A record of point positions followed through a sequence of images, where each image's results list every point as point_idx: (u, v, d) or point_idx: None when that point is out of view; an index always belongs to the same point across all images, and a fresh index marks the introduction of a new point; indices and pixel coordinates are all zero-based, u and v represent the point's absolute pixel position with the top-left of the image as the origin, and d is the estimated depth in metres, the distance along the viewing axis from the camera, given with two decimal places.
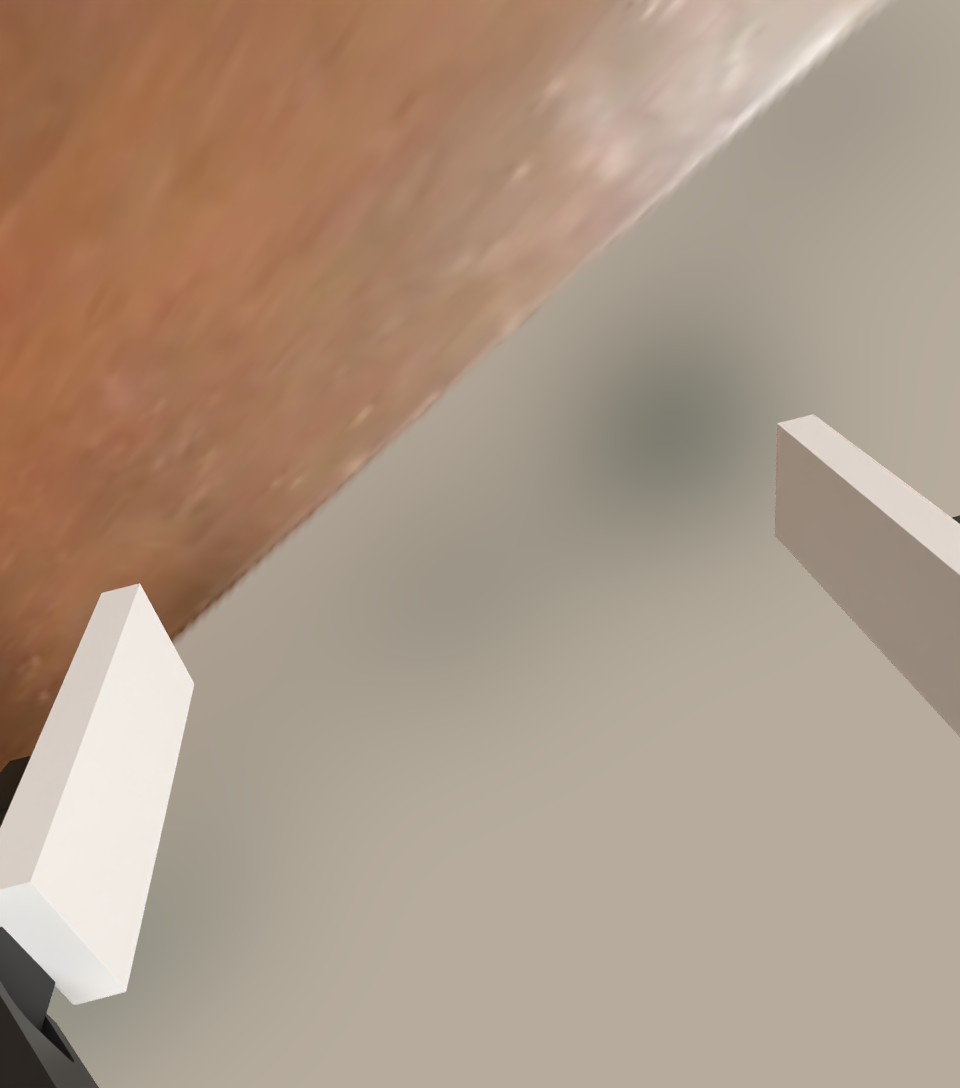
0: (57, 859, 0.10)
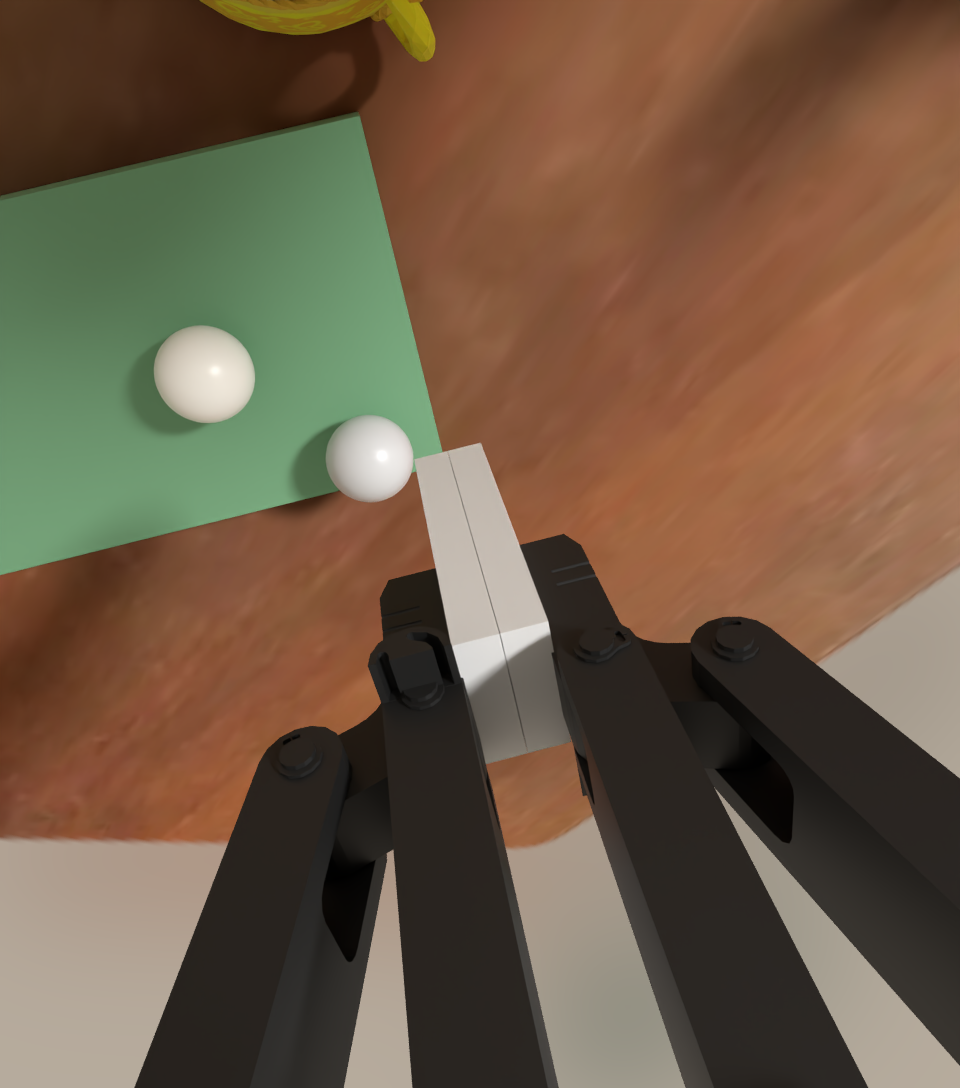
0: None
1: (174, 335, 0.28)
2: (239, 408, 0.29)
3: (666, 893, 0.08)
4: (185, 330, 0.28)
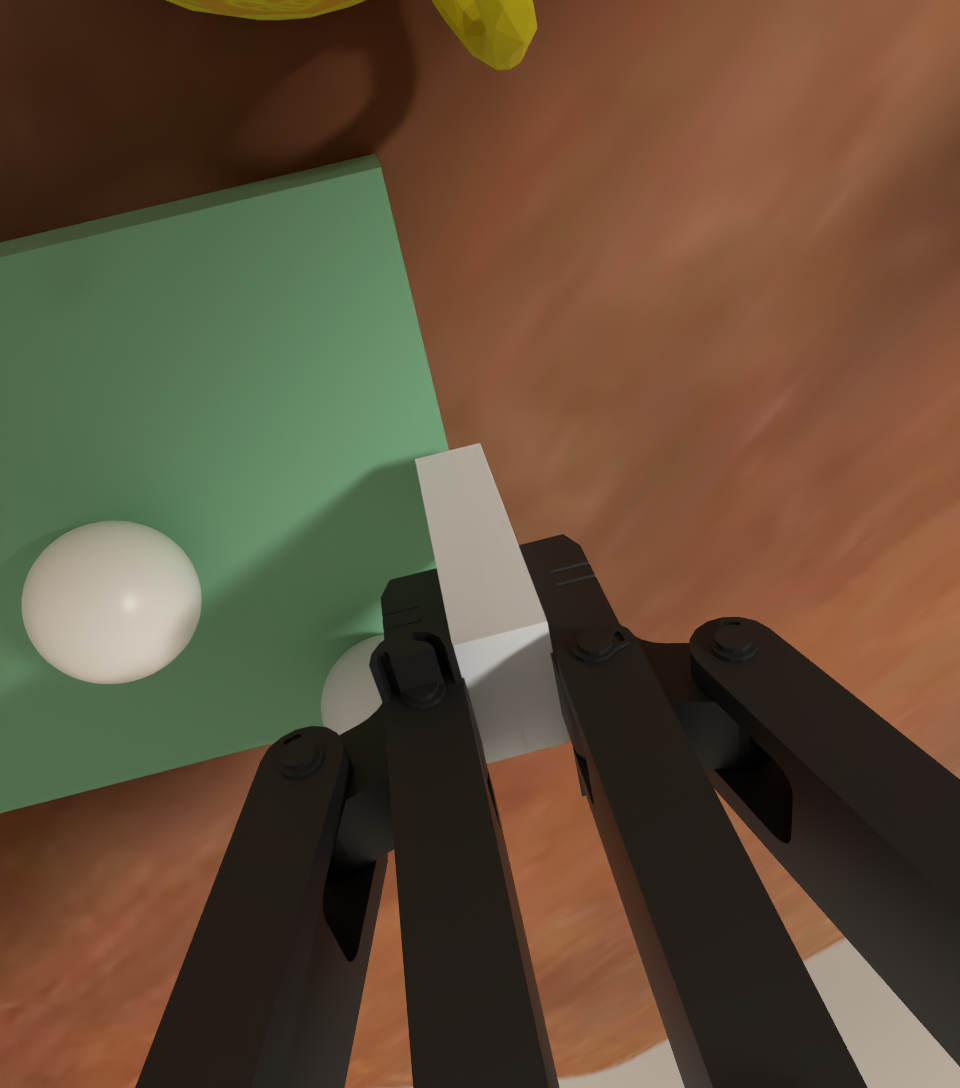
0: None
1: (54, 548, 0.16)
2: (173, 658, 0.17)
3: (665, 893, 0.08)
4: (74, 539, 0.16)
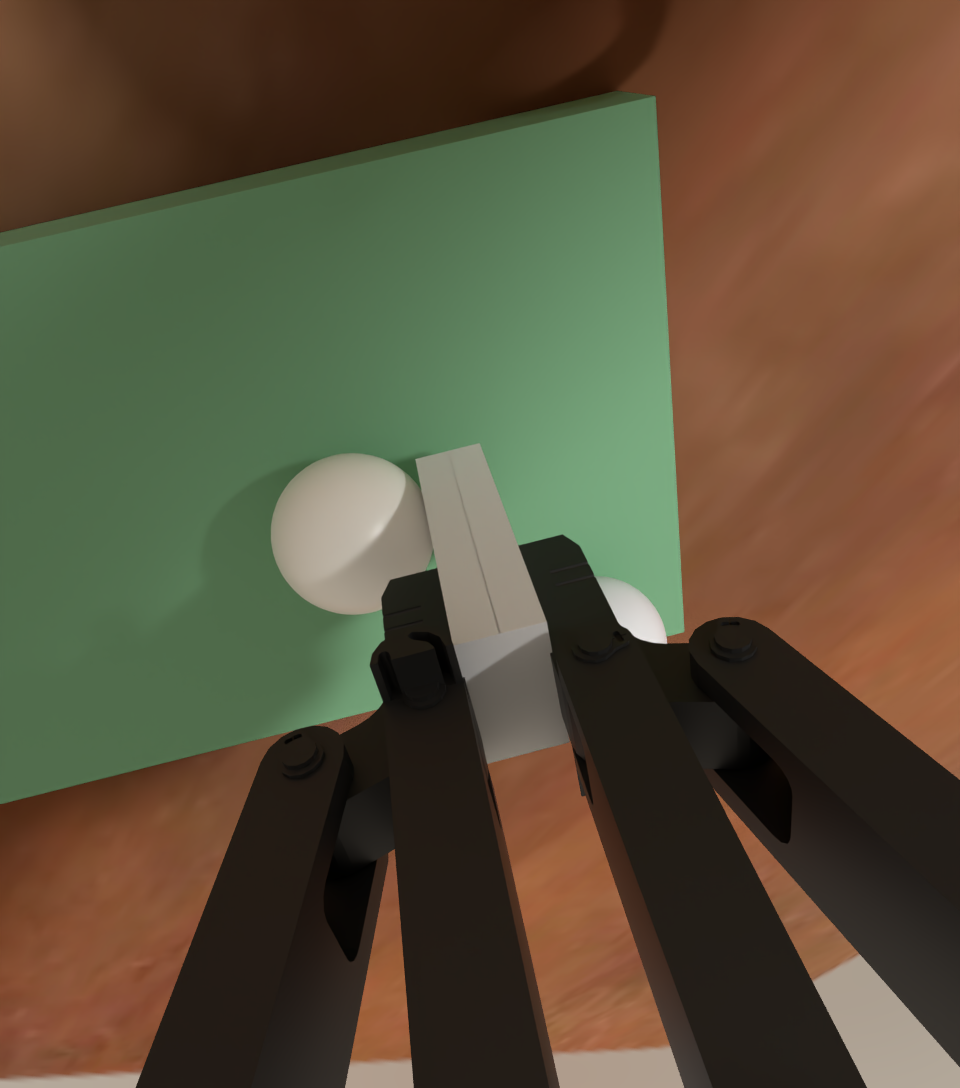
0: None
1: (311, 476, 0.16)
2: None
3: (664, 893, 0.08)
4: (329, 467, 0.16)
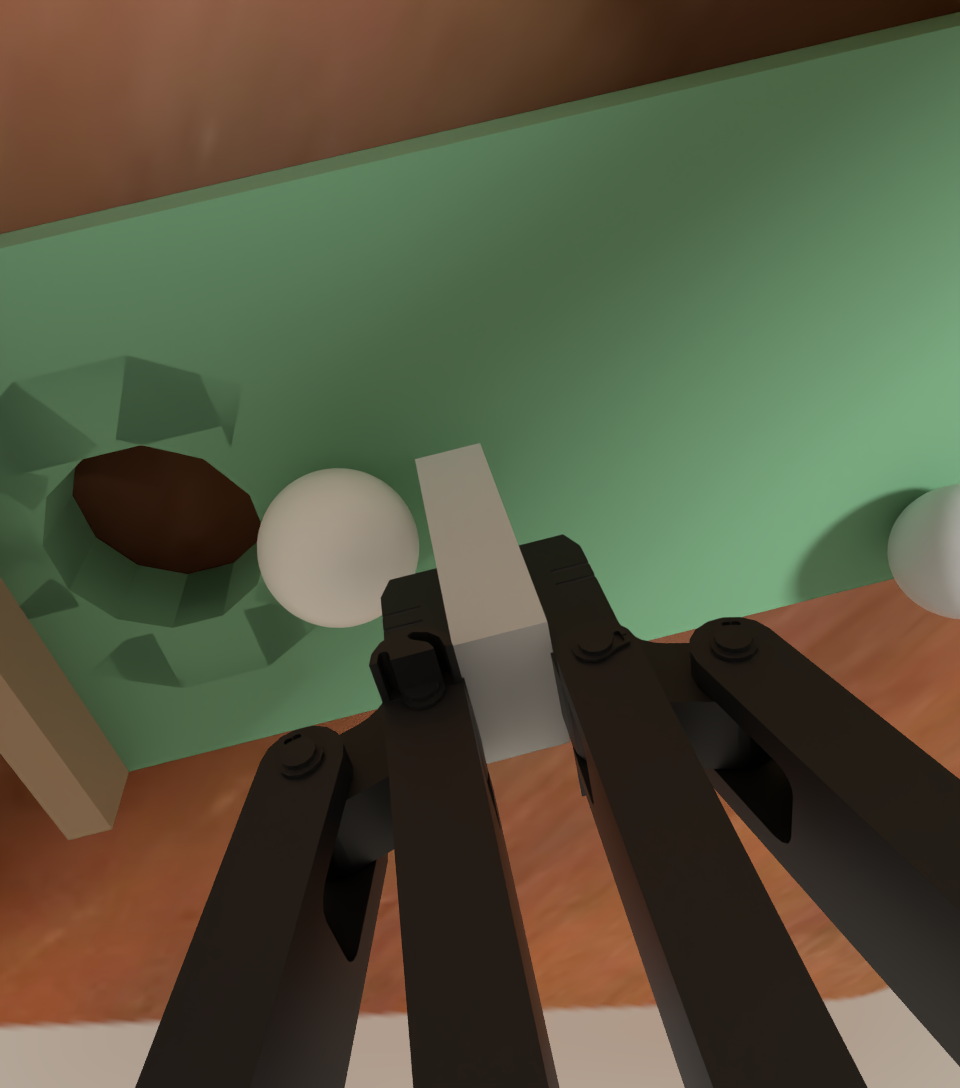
0: None
1: (302, 493, 0.16)
2: None
3: (665, 893, 0.08)
4: (317, 482, 0.17)
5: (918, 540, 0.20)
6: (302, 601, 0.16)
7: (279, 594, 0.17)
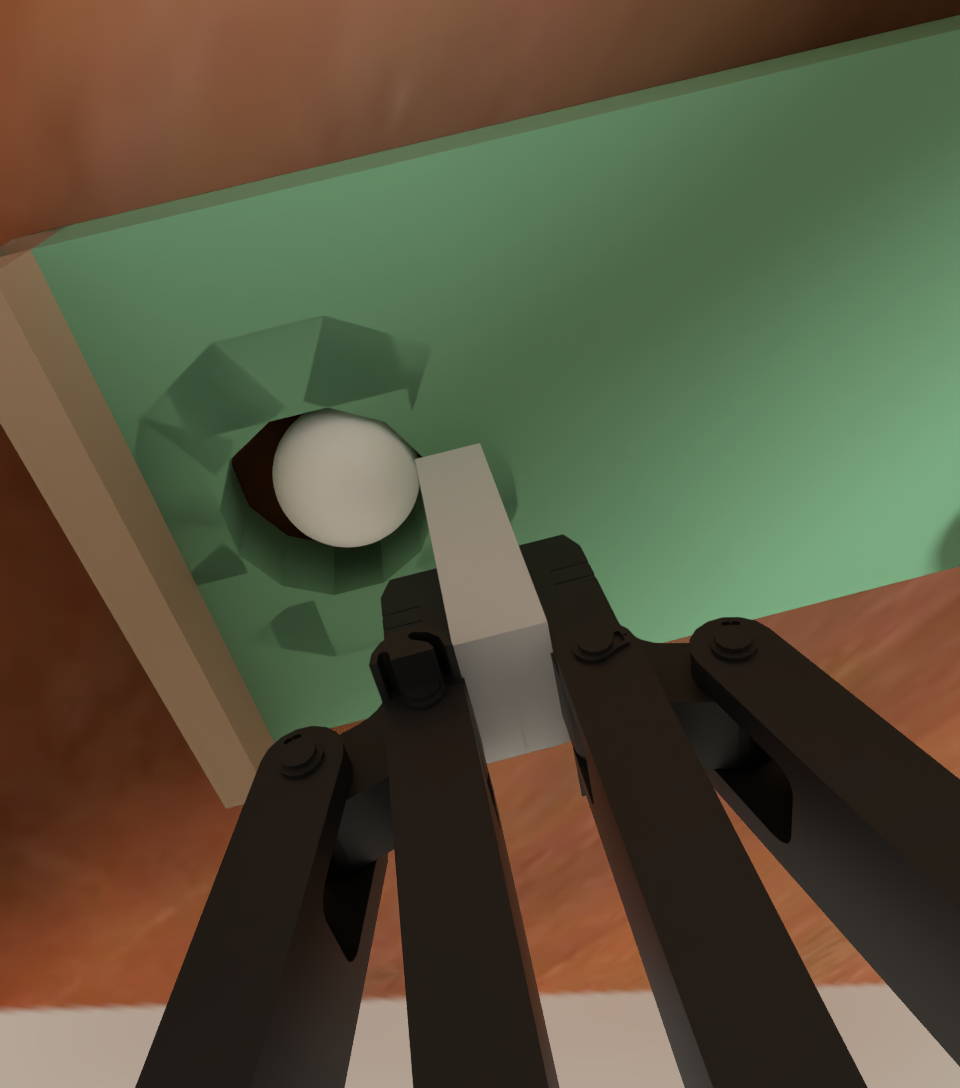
0: None
1: None
2: (331, 543, 0.19)
3: (665, 893, 0.08)
4: None
5: None
6: None
7: None
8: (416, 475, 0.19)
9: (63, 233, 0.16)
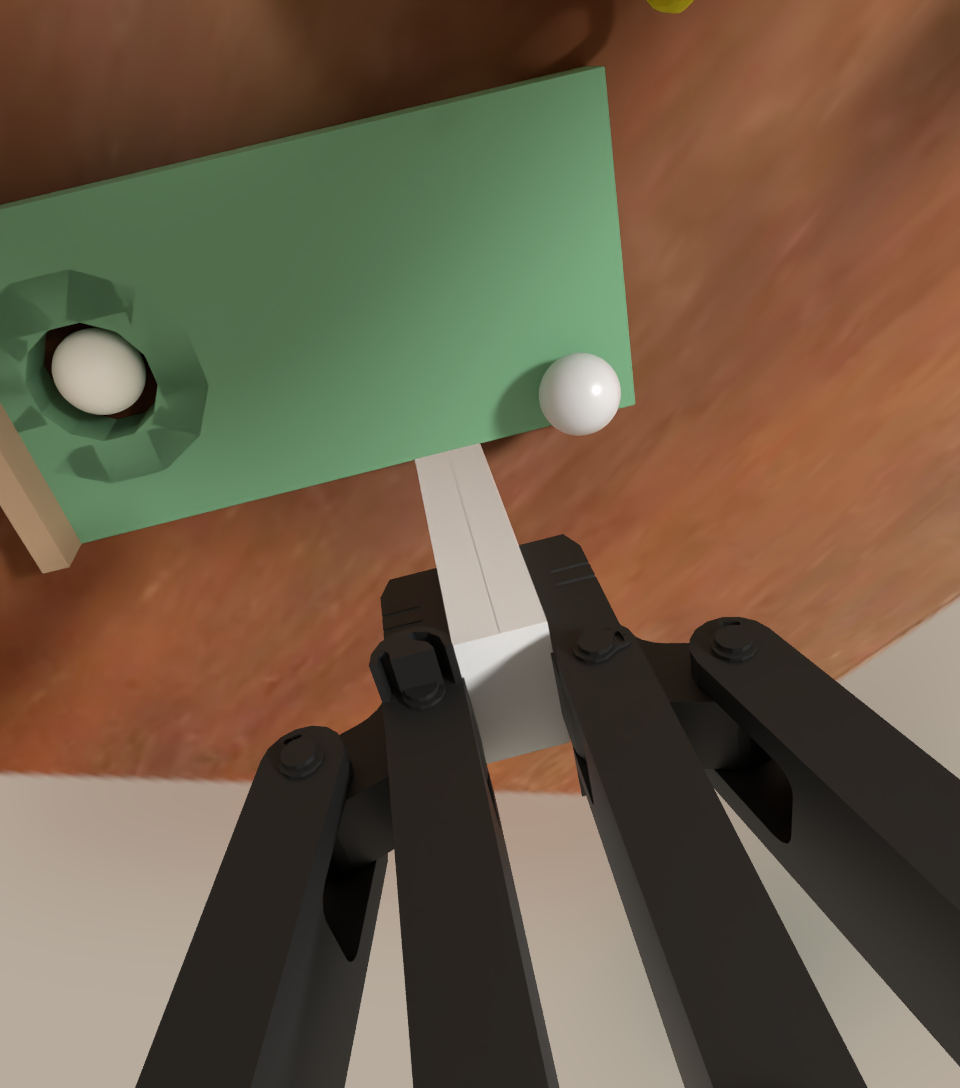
0: None
1: None
2: (85, 411, 0.33)
3: (665, 893, 0.08)
4: None
5: (544, 384, 0.34)
6: None
7: None
8: (132, 375, 0.32)
9: None
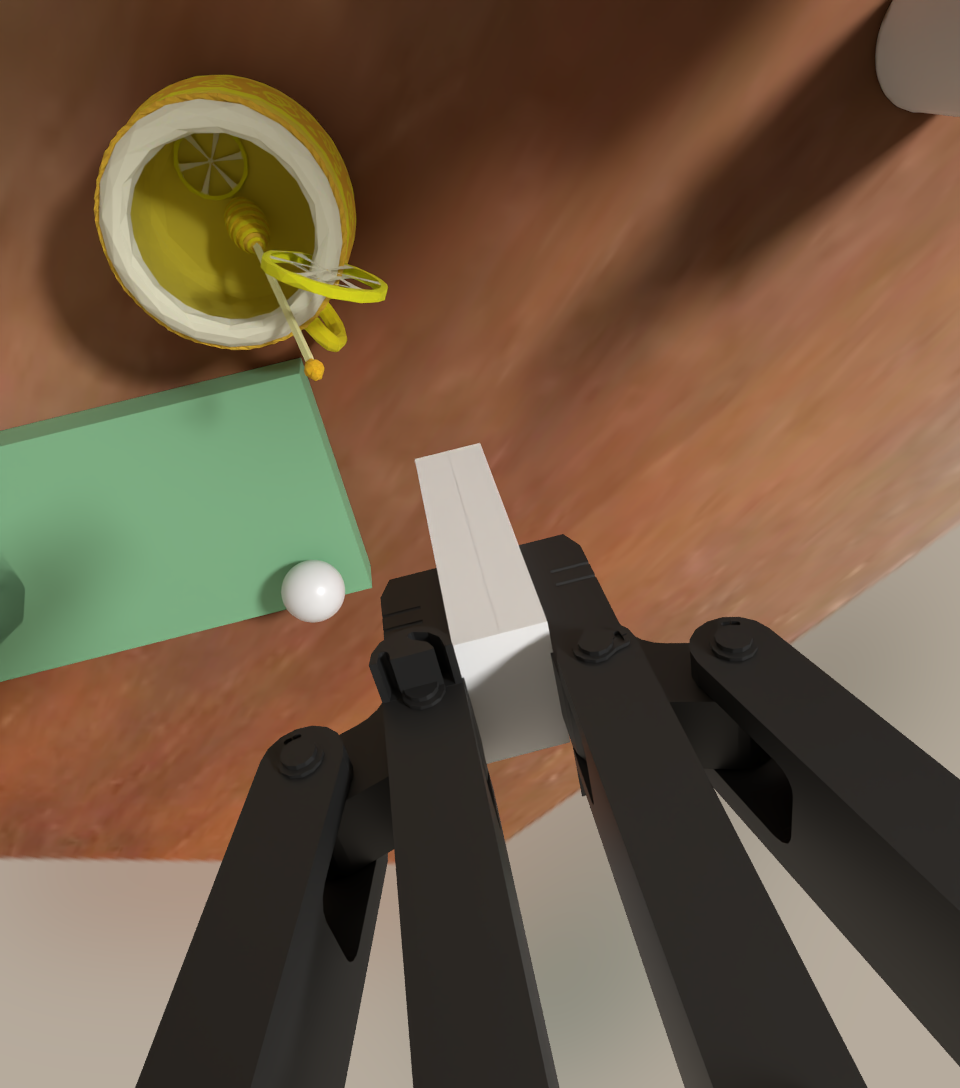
0: None
1: None
2: None
3: (665, 893, 0.08)
4: None
5: (282, 586, 0.44)
6: None
7: None
8: None
9: None
